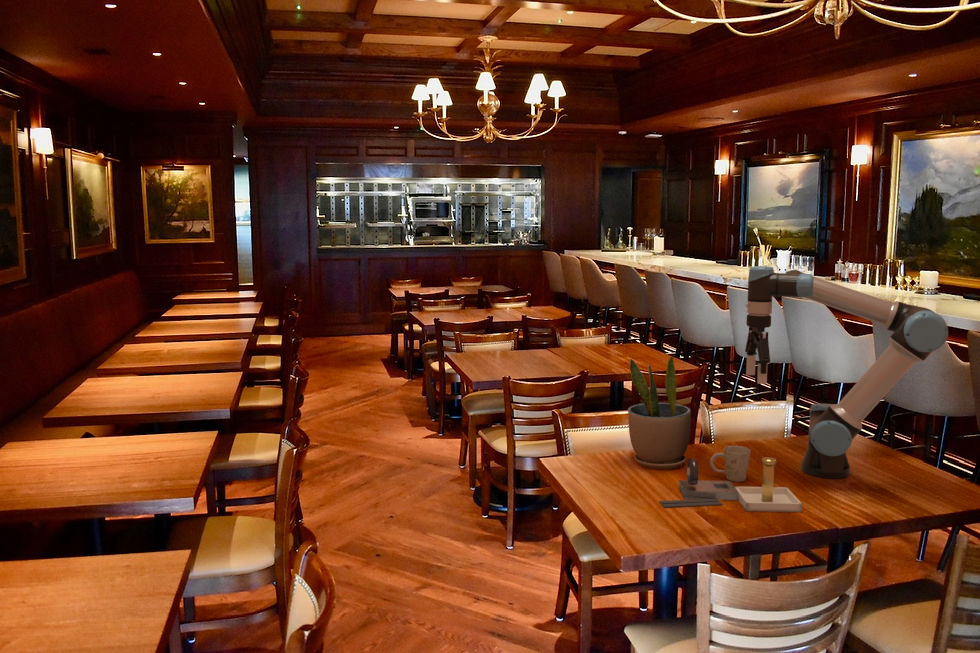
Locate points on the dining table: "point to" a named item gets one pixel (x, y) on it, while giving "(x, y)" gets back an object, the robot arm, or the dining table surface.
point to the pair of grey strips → (690, 503)
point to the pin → (768, 479)
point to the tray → (781, 502)
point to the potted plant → (658, 423)
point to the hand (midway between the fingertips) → (756, 379)
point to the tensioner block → (705, 486)
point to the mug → (733, 462)
